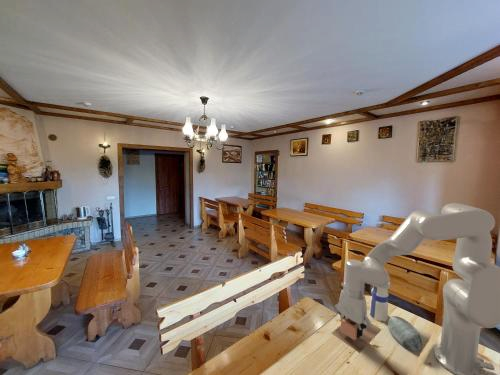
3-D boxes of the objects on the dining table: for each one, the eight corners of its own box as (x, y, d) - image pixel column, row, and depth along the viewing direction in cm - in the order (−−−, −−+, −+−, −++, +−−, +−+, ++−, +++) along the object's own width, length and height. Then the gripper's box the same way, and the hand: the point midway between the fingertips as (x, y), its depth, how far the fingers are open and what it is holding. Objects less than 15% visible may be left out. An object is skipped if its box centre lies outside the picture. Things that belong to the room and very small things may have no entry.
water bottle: (363, 313, 105) (366, 265, 103) (378, 311, 106) (381, 264, 104) (376, 325, 97) (379, 273, 95) (392, 323, 98) (396, 272, 96)
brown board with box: (354, 317, 102) (355, 302, 102) (381, 332, 93) (382, 316, 92) (331, 336, 90) (331, 320, 90) (359, 356, 81) (360, 338, 80)
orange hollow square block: (348, 325, 93) (348, 314, 92) (361, 333, 88) (362, 322, 87) (340, 331, 89) (341, 320, 88) (354, 340, 84) (355, 328, 84)
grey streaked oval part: (433, 350, 80) (418, 324, 82) (410, 360, 80) (395, 334, 82) (411, 332, 93) (398, 309, 95) (391, 340, 94) (379, 318, 96)
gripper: (329, 284, 91) (327, 323, 93) (371, 305, 78) (368, 350, 79) (339, 278, 96) (337, 316, 97) (380, 297, 82) (377, 340, 84)
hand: (351, 331), depth 88 cm, fingers closed on orange hollow square block, 5 cm apart
